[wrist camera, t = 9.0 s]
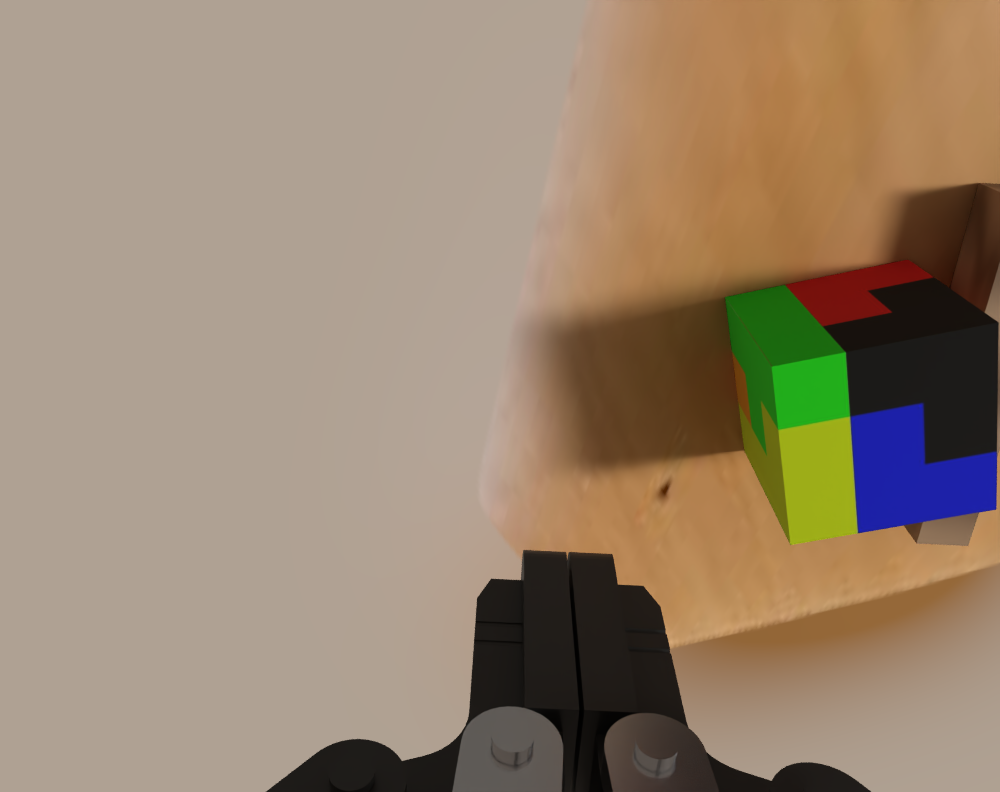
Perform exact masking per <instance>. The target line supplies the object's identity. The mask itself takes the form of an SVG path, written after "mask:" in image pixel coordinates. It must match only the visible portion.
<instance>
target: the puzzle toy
mask: <svg viewBox="0 0 1000 792" xmlns="http://www.w3.org/2000/svg"><path fill="white" fill-rule="evenodd" d="M725 301H726V309H727V317H728V325H729V333H730V341H731V349H732V357H733V365H734V373H735V381H736V389H737V397H738V405H739V413H740V421H741V429H742V436H743V444H744V451H745V453H746V455H747V457H748V459H749V461H750V463H751V465H752V467H753V469H754V471H755V473H756V475H757V478H758V480H759V482H760V484H761V486H762V488H763V490H764V492H765V494H766V496H767V498H768V500H769V502H770V504H771V506H772V508H773V510H774V512H775V514H776V516H777V518H778V520H779V522H780V525H781V527H782V529H783V531H784V533H785V535H786V537H787V539H788V541H789V543H790V545H793V544H799V543H805V542H810V541H816V540H822V539H828V538H834V537H839V536H845V535H851V534H857V533H863V532H868V531H874V530H880V529H886V528H892V527H897V526H903V525H909V524H915V523H921V522H926V521H932V520H938V519H944V518H950V517H955V516H961V515H967V514H973V513H979V512H984V511H990V510H996V493H997V416H998V339H999V322H997V321H996V320H995V319H993V318H992V317H990V316H989V315H987V314H986V313H985V312H983V311H982V310H980V309H979V308H977V307H976V306H974V305H973V304H972V303H970V302H969V301H967V300H966V299H964V298H963V297H962V296H960V295H959V294H957V293H956V292H954V291H953V290H951V289H950V288H949V287H947V286H946V285H944V284H943V283H941V282H940V281H938V280H937V279H936V278H934V277H933V276H931V275H930V274H928V273H927V272H926V271H924V270H923V269H921V268H920V267H918V266H917V265H915V264H914V263H913V262H911V261H910V260H903V261H898V262H893V263H889V264H884V265H879V266H874V267H869V268H864V269H859V270H854V271H850V272H845V273H840V274H835V275H830V276H825V277H820V278H815V279H811V280H806V281H801V282H796V283H791V284H786V285H781V286H776V287H772V288H767V289H762V290H757V291H752V292H747V293H742V294H737V295H733V296H728V297H725Z"/></svg>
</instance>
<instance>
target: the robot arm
mask: <svg viewBox="0 0 1000 792" xmlns="http://www.w3.org/2000/svg"><path fill="white" fill-rule="evenodd" d="M665 631H666V629H665V625H664V621H663V616H662V612H661V607H660V606H659V605H658V603H657V602H656V601H655V600H654V598H653V597H652V596H651V595H650V594H649V592H648V591H647V590H646V589H645V587H644V586H634V585H618V583H617V577H616V571H615V565H614V559H613V555H612V554H598V553H577V552H569V554H568V559H567V555H566V552H552V551H532V550H523V557H522V572H521V580H504V579H491V580H490V581H489V583H488V584H487V585H486V587H485V588H484V589H483V591H482V592H481V594H480V595H479V596H478V598H477V608H476V624H475V637H474V652H473V666H472V680H471V681H472V682H471V695H470V709H469V717H468V721H467V723H466V726H465V727H464V729H463V731H462V732H461V734H460V735H459V736H458V737H457V738H456V739H455V740H454V741H453V742H452V743H450V744H449V745H448V746H446V747H444V748H443V749H442V750H439V751H437V752H434V753H432V754H429V755H425V756H422V757H417V758H413V759H409V760H405V761H401V759H400V758H399V757H398V755H397V754H396V753H395V752H394V751H393V750H391V749H390V748H388V747H386V746H385V745H382V744H380V743H378V742H375V741H370V740H363V739H352V740H345V741H341V742H338V743H334V744H332V745H329V746H327V747H326V748H324V749H322V750H320V751H319V752H317V753H316V754H315V755H313V756H312V757H311V758H310V759H308V760H307V761H306V762H304V763H303V764H302V765H300V766H299V767H298V768H296V769H295V770H294V771H292V772H291V773H290V774H289V775H288V776H286V777H285V778H283V779H282V780H281V781H279V782H278V783H277V784H276V785H274V786H273V787H272V788H270V789H269V790H268V791H267V792H871V791H870V790H868V789H867V788H866V787H864V786H863V785H862V784H860V783H859V782H858V781H856V780H855V779H853V778H852V777H851V776H849V775H847V774H846V773H844V772H842V771H840V770H838V769H835V768H832V767H830V766H826V765H823V764H818V763H796V764H792V765H789V766H786V767H785V768H783V769H781V770H780V771H779V772H778V773H777V774H776V775H775V776H774V778H773V780H772V781H770V780H767V779H764V778H761V777H757V776H754V775H751V774H748V773H745V772H742V771H739V770H736V769H734V768H731V767H729V766H727V765H725V764H723V763H721V762H719V761H718V760H716V759H714V758H713V757H711V756H710V755H709V754H708V753H707V752H706V750H705V748H704V746H703V744H702V742H701V741H700V740H699V738H698V737H697V736H696V734H695V733H694V732H692V730H690V729H689V728H688V725H687V722H686V718H685V714H684V709H683V705H682V700H681V696H680V692H679V687H678V683H677V678H676V674H675V669H674V665H673V660H672V656H671V654H670V647H669V643H668V638H667V634H666V633H665Z"/></svg>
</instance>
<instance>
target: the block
mask: <svg viewBox="0 0 1000 792" xmlns="http://www.w3.org/2000/svg"><path fill="white" fill-rule="evenodd" d="M950 289H951V290H953V291H954V292H956V293H957V294H959V295H960V296H962V297H963V298H964V299H966V300H967V301H969V302H970V303H972V304H973V305H974V306H976V307H977V308H979V309H980V310H982V311H983V312H985V313H986V314H987V315H989V316H990V317H992V318H993V319H995V320H996V321H997V322H999V339H998V416H997V456H998V453H999V450H1000V184H987V183H979V184H978V188H977V192H976V195H975V199H974V203H973V206H972V210H971V213H970V217H969V221H968V224H967V228H966V232H965V235H964V239H963V243H962V246H961V250H960V254H959V257H958V261H957V264H956V268H955V272H954V275H953V279H952V283H951V286H950ZM978 514H979V513H973V514H967V515H961V516H955V517H950V518H944V519H938V520H932V521H926V522H921V523H915V524H909V525H904V526H905V528H906V529H907V531H908V532H909V533H910V535H911V536H912V538H913V539H914V540H915V542H916V543H919V544H940V545H961V546H968V545H969V541H970V538H971V535H972V532H973V529H974V526H975V523H976V520H977V517H978Z"/></svg>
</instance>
